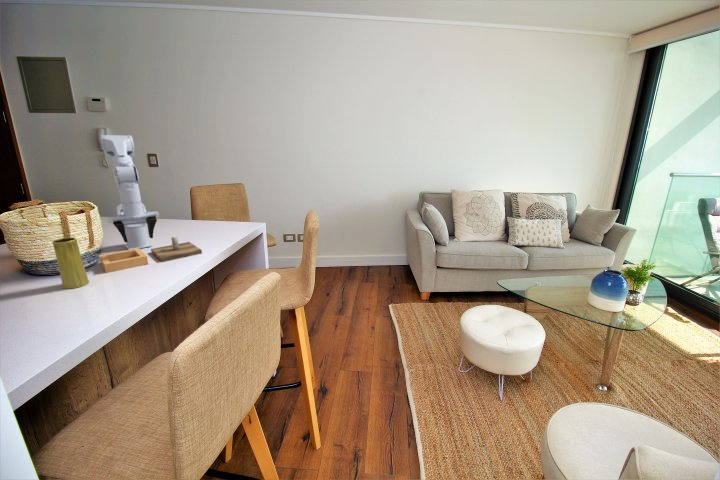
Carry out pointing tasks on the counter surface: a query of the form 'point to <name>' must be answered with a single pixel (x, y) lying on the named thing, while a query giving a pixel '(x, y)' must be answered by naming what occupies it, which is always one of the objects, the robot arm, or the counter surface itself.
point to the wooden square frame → (123, 260)
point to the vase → (70, 263)
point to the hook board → (175, 250)
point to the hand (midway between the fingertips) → (138, 239)
